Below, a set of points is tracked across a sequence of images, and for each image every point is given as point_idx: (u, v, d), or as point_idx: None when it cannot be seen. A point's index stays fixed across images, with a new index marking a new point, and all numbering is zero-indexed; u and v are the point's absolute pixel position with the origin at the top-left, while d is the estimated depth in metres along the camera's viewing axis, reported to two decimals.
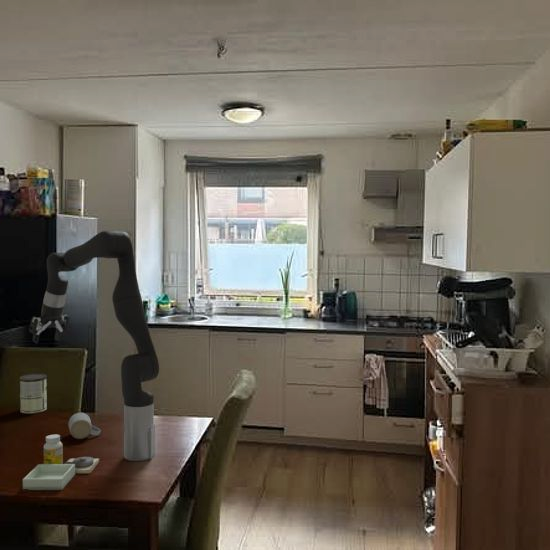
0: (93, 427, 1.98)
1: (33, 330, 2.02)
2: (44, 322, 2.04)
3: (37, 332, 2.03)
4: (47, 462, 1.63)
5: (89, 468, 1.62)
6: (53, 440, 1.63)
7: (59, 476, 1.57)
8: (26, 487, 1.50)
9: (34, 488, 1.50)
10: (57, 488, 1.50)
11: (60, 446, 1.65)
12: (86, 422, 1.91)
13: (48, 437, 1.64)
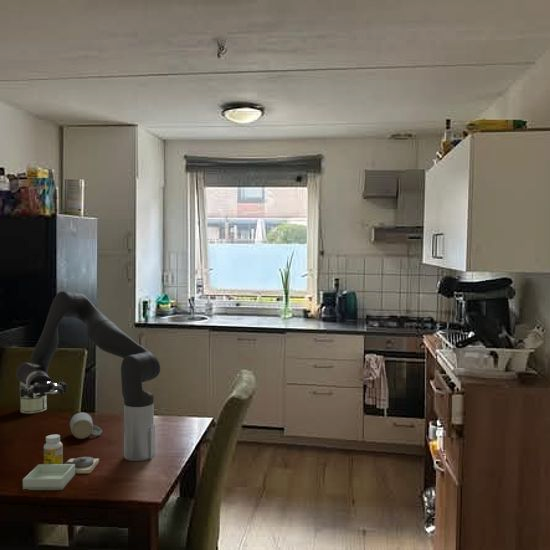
0: (94, 427, 1.98)
1: (21, 388, 1.76)
2: None
3: (27, 388, 1.76)
4: (47, 462, 1.63)
5: (89, 468, 1.62)
6: (53, 440, 1.63)
7: (59, 476, 1.57)
8: (26, 487, 1.50)
9: (34, 488, 1.50)
10: (57, 488, 1.50)
11: (60, 446, 1.65)
12: (88, 422, 1.91)
13: (48, 437, 1.64)
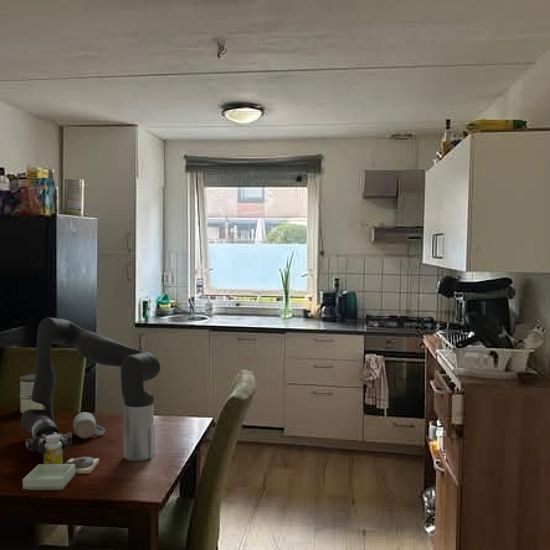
0: (97, 427, 1.98)
1: (32, 442, 1.65)
2: (39, 438, 1.69)
3: (38, 442, 1.65)
4: (47, 462, 1.63)
5: (89, 468, 1.62)
6: (52, 440, 1.63)
7: (59, 476, 1.57)
8: (26, 487, 1.50)
9: (34, 488, 1.50)
10: (57, 488, 1.50)
11: (60, 446, 1.65)
12: (91, 421, 1.91)
13: (48, 437, 1.64)
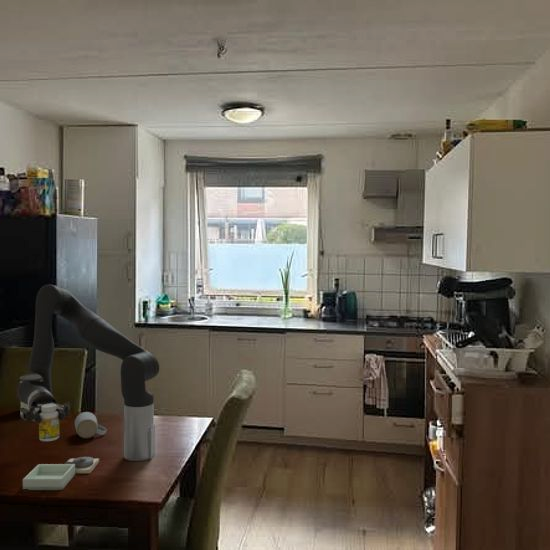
0: (99, 426, 1.98)
1: (27, 411, 1.55)
2: (35, 407, 1.59)
3: (33, 411, 1.55)
4: (42, 432, 1.53)
5: (89, 468, 1.62)
6: (48, 409, 1.53)
7: (59, 476, 1.57)
8: (26, 487, 1.50)
9: (34, 488, 1.50)
10: (57, 488, 1.50)
11: (56, 416, 1.54)
12: (92, 421, 1.91)
13: (44, 406, 1.54)
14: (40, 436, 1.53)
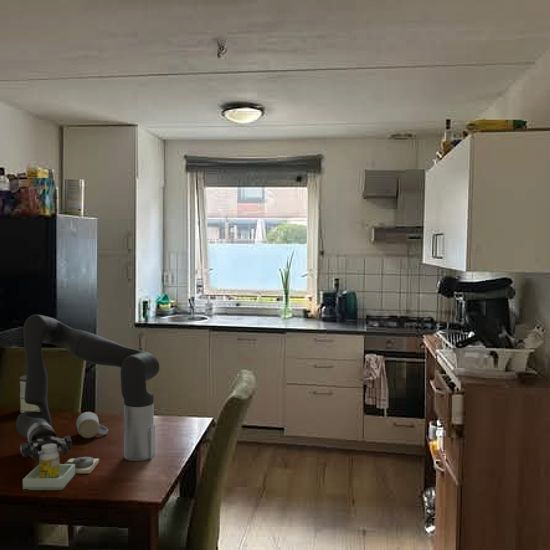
0: (101, 426, 1.99)
1: (24, 447, 1.54)
2: (35, 442, 1.59)
3: (31, 447, 1.54)
4: (43, 473, 1.52)
5: (89, 468, 1.62)
6: (49, 450, 1.53)
7: None
8: (26, 487, 1.50)
9: (34, 488, 1.50)
10: (57, 488, 1.50)
11: (57, 456, 1.54)
12: (94, 421, 1.92)
13: (44, 446, 1.54)
14: (40, 477, 1.53)
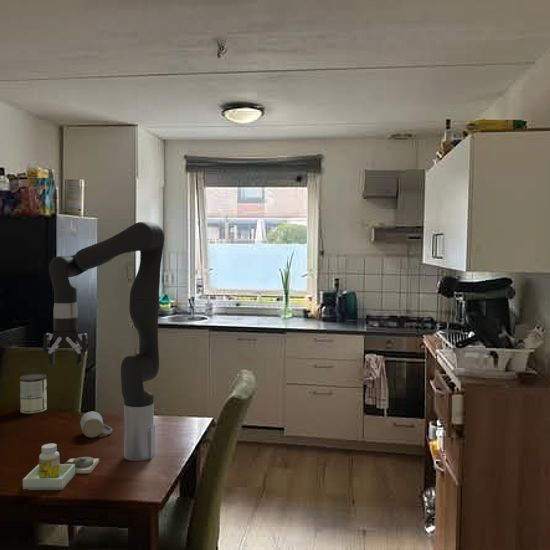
0: (105, 426, 1.99)
1: (44, 347, 1.80)
2: (55, 339, 1.80)
3: (49, 350, 1.80)
4: (43, 473, 1.52)
5: (89, 468, 1.62)
6: (49, 450, 1.53)
7: None
8: (26, 487, 1.50)
9: (34, 488, 1.50)
10: (57, 488, 1.50)
11: (57, 456, 1.54)
12: (98, 421, 1.92)
13: (44, 447, 1.54)
14: (40, 477, 1.53)
